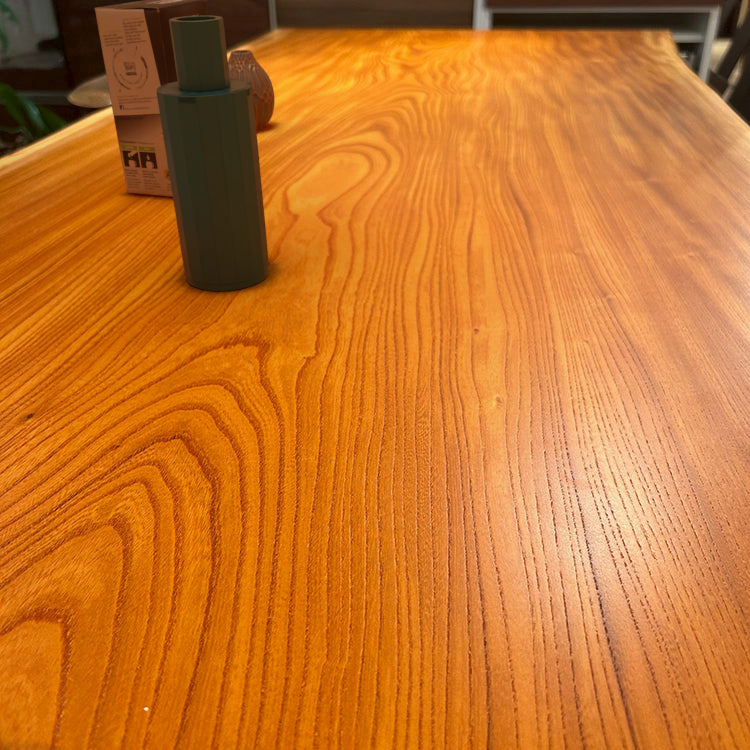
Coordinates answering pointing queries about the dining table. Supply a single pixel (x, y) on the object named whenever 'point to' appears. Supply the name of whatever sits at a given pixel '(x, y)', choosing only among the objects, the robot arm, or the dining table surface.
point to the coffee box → (141, 83)
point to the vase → (254, 84)
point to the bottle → (213, 161)
